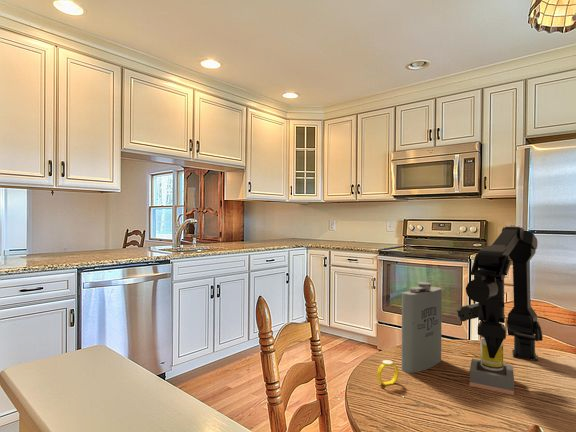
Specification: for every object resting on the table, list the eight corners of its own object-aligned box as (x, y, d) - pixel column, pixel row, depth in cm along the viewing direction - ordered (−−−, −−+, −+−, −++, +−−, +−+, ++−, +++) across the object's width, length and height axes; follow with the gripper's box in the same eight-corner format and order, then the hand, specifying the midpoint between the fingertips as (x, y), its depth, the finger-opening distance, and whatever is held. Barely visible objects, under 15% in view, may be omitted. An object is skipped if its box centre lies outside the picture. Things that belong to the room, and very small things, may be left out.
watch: (381, 388, 95) (380, 366, 95) (375, 384, 98) (374, 362, 97) (400, 383, 97) (399, 361, 97) (394, 379, 100) (393, 357, 100)
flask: (413, 375, 103) (413, 286, 103) (399, 369, 106) (399, 284, 107) (445, 361, 113) (446, 280, 114) (432, 356, 117) (432, 278, 117)
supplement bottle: (507, 372, 95) (506, 334, 95) (484, 371, 96) (484, 333, 96) (498, 363, 101) (497, 328, 101) (477, 362, 102) (476, 327, 102)
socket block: (471, 372, 105) (471, 358, 105) (512, 380, 100) (512, 365, 100) (469, 385, 96) (469, 370, 97) (514, 395, 92) (514, 379, 92)
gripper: (461, 288, 111) (461, 339, 111) (455, 299, 95) (455, 360, 94) (504, 291, 105) (504, 346, 105) (505, 305, 89) (505, 369, 89)
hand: (491, 354), depth 98 cm, fingers closed on supplement bottle, 5 cm apart
